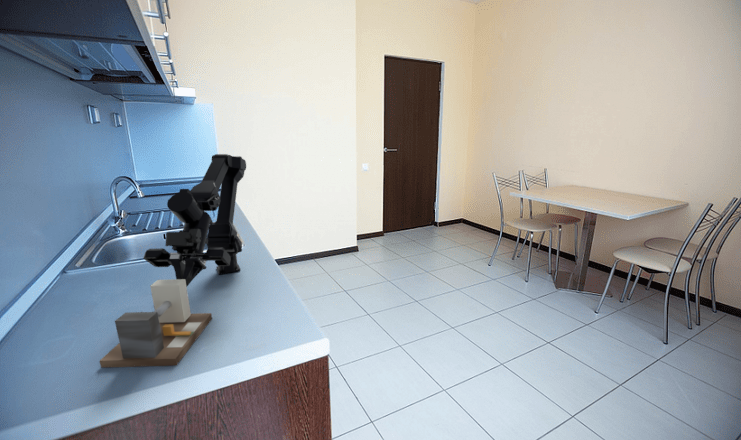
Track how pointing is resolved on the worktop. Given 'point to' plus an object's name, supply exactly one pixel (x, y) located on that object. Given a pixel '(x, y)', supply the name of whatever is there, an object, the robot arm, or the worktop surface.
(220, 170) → the robot arm
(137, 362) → the board
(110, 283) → the worktop surface
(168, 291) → the cream eraser-shaped block
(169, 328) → the drag pointer
